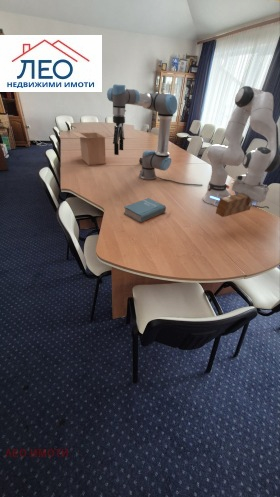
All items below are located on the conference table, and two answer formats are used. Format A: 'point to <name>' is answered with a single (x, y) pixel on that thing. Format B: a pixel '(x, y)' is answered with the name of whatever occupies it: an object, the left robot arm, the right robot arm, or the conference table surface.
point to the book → (144, 209)
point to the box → (92, 146)
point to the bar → (233, 205)
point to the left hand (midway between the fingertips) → (118, 152)
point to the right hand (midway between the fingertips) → (244, 203)
